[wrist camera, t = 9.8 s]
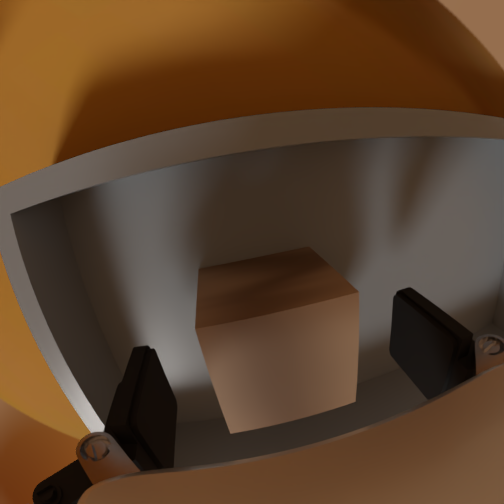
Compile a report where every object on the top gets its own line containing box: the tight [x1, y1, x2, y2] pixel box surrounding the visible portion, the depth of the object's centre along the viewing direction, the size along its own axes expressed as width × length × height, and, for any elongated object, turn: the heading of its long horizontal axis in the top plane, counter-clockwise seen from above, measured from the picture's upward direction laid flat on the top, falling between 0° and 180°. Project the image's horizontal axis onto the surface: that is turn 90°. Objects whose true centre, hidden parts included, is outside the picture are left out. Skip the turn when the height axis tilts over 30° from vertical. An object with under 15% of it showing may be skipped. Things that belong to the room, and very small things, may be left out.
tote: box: [0, 107, 504, 468], centre depth 13 cm, size 28×16×5 cm, turn 99°
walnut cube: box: [195, 247, 359, 434], centre depth 12 cm, size 5×5×5 cm
